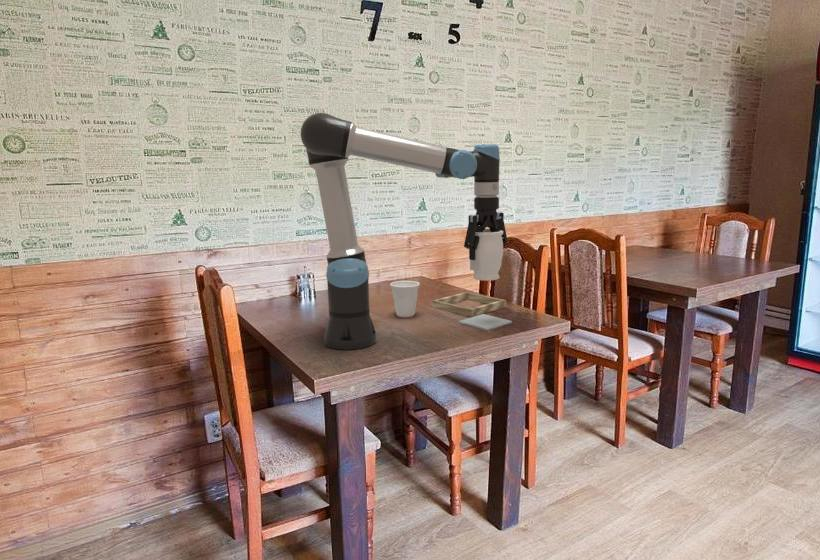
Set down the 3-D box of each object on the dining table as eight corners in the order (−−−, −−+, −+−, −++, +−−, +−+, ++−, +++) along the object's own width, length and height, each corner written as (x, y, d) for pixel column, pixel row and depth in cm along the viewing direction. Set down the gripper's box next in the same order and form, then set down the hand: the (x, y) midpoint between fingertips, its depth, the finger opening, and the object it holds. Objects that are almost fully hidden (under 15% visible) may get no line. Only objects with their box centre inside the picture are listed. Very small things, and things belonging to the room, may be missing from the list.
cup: (417, 319, 181) (416, 287, 179) (387, 318, 183) (387, 286, 181) (422, 312, 191) (422, 280, 189) (394, 311, 193) (393, 280, 191)
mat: (487, 330, 168) (487, 328, 168) (458, 322, 177) (458, 321, 177) (512, 322, 176) (512, 321, 176) (483, 315, 185) (483, 313, 185)
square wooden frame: (470, 317, 183) (470, 309, 183) (432, 307, 197) (432, 300, 196) (506, 307, 195) (506, 300, 195) (467, 298, 209) (467, 291, 208)
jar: (505, 281, 168) (505, 232, 165) (471, 282, 168) (471, 233, 165) (500, 274, 179) (500, 228, 175) (468, 275, 179) (468, 229, 176)
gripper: (470, 198, 158) (470, 274, 163) (519, 194, 173) (518, 264, 177) (451, 198, 164) (451, 271, 168) (501, 194, 178) (500, 261, 183)
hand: (486, 267), depth 173 cm, fingers closed on jar, 10 cm apart
